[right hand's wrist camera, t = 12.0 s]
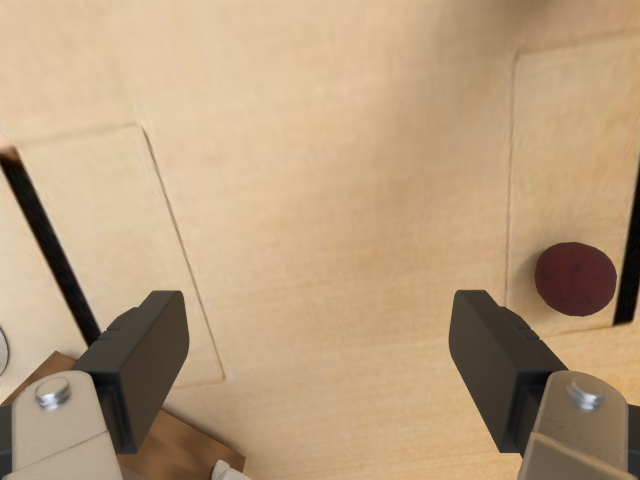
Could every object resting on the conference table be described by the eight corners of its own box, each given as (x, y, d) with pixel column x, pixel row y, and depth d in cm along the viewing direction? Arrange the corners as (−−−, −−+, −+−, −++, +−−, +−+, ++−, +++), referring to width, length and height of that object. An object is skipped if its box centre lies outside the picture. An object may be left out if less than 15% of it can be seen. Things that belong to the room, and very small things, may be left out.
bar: (35, 379, 47) (-22, 437, 39) (55, 350, 45) (0, 404, 38) (222, 480, 53) (205, 547, 45) (245, 457, 52) (232, 522, 44)
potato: (539, 305, 45) (577, 341, 39) (509, 256, 43) (543, 285, 36) (599, 271, 44) (649, 302, 37) (571, 219, 41) (618, 242, 35)
